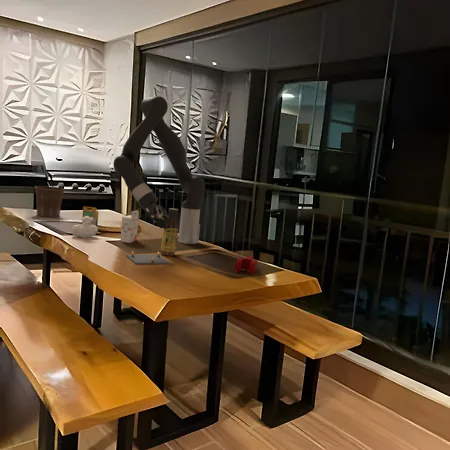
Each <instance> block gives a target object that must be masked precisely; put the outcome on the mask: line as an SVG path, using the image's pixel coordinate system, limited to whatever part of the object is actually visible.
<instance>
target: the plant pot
mask: <svg viewBox="0 0 450 450" xmlns="http://www.w3.org/2000/svg"><path fill="white" fill-rule="evenodd" d="M34 189H35V196H36V197H35V198H36V199H35V201H36V216H39V217H42V218H43V217H44V218H50V217H51V218H58V217H60V214H61V207H62V202H63V197H64V192H65V190H66V188H62V187H57V186H49V185H48V186H46V185H43V186H42V185H38V186H37V185H35V186H34Z"/></svg>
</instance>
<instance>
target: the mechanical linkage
mask: <svg viewBox="0 0 450 450" xmlns="http://www.w3.org/2000/svg"><path fill="white" fill-rule="evenodd" d="M235 263H236V264H235V271H237V272H236V273H238V272H240V271H241V270H242V269H245V270H249V271H248V274H249V273H250V274H254V272H255V271H257V265H258V259H254V256H252V255H246V256H245V257H238V258H237V260H236V262H235ZM235 271H234V272H235ZM241 272H242V271H241ZM241 272H240V273H241ZM255 273H256V272H255ZM250 274H249V275H250ZM254 275H255V274H254Z"/></svg>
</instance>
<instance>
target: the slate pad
mask: <svg viewBox="0 0 450 450" xmlns="http://www.w3.org/2000/svg"><path fill="white" fill-rule="evenodd" d="M131 254H132V253H130V254H127V253H126V254H125V256H126V258H127V259H129V260H130V261H131V262H132V263H133V264H135V265H171V262H170V261H169V260H167V259H166V258H165V257H164V256H163V255H160V257H157V254H142V253H141V254H140V253H139V254H136V253H134V257H131ZM152 257H154V263H152V262H151V260H152Z"/></svg>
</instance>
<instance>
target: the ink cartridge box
mask: <svg viewBox="0 0 450 450" xmlns="http://www.w3.org/2000/svg"><path fill="white" fill-rule="evenodd" d="M120 227H121V229H120V242H122V243H127V244H130V243H133V242H136V241H137V239H138V230H139V229H138V228H139V210H138V209H137V210H132V211H131V214H130V215H125V216H122V217H121V226H120Z"/></svg>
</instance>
